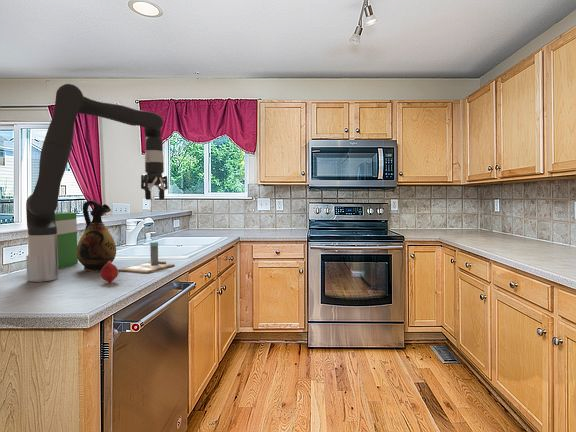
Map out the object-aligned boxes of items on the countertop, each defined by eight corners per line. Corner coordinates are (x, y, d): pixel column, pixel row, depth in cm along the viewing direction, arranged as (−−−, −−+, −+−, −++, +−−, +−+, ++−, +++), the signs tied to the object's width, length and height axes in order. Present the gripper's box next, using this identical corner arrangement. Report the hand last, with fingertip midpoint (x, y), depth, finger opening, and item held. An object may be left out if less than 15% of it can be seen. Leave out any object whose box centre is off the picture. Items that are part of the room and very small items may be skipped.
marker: (155, 265, 169) (154, 242, 169) (148, 265, 170) (148, 242, 170) (160, 264, 172) (159, 242, 172) (154, 263, 173) (153, 241, 173)
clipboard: (147, 273, 156) (147, 269, 156) (118, 271, 161) (118, 266, 161) (174, 266, 173) (174, 262, 173) (147, 264, 178) (147, 260, 178)
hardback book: (54, 270, 164) (52, 214, 162) (37, 270, 164) (35, 214, 163) (77, 263, 181) (76, 212, 180) (62, 263, 181) (60, 212, 180)
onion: (109, 285, 136) (108, 262, 136) (97, 283, 138) (96, 261, 138) (121, 281, 142) (121, 260, 141) (109, 280, 144) (109, 259, 143)
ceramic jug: (124, 266, 172) (122, 199, 170) (101, 273, 157) (99, 200, 155) (90, 265, 175) (88, 199, 173) (65, 272, 160) (62, 200, 158)
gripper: (158, 163, 172) (158, 199, 173) (135, 160, 159) (136, 199, 160) (172, 162, 170) (172, 199, 170) (150, 160, 156) (150, 199, 157)
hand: (155, 199), depth 165 cm, fingers open, 8 cm apart
